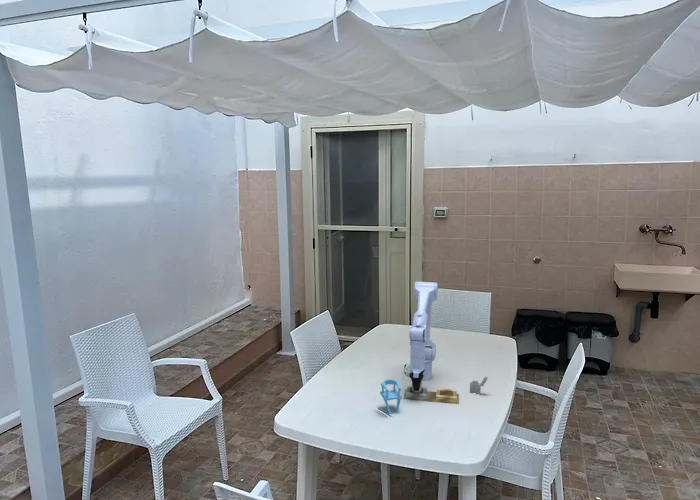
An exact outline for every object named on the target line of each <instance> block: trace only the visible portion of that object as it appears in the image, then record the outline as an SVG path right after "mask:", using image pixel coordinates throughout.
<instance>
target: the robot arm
mask: <svg viewBox="0 0 700 500" xmlns="http://www.w3.org/2000/svg"><path fill="white" fill-rule="evenodd" d="M438 290H439V285H438V282H436V281H434V282H432V281H431V282H429V281H418V280H417V281H415V282H414V285H413V293H414V297H415V299H416V300H417V311H415V312H414V313H413V318H412V319H413V320H412V325H411V326H412V327H410V328H409V333H408V337H409V338H408V339H409V346H410V352H409V353H410V355H409V356H410V362H409V364H408V365H406V367H407V369H410V372H409V378H410V380H411V385H412V384H413V389H414V391H419V389H420V384H421V381H422V382H424V381H426V382H427V381H430V380H432V378H433V362H434V361H435V360H436V356H437V355H436V354H437V347H436V346H437V345H436V342H435V341H434V340H433V339H431V325H432V324H431V323H432V321H431V320H432V305H433V302H436V301H437V300H438V294H439V293H438V292H439V291H438Z"/></svg>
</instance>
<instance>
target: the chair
mask: <svg viewBox="0 0 700 500" xmlns="http://www.w3.org/2000/svg"><path fill="white" fill-rule="evenodd" d="M387 385H392V389H391V390H389V389H388V386H387ZM380 386H381V391H379V394H380V396H381V397H382V399H383V402H384V404H385V406H386V409H387V412H388V413H387V412H386V411H383V410H382V409H381V408H380V407H377V409H378V410H379V411H380V412H382V413H383V414H386V415H387V416H389V417H390V418H392V417H393V416H392V414H393V413H392V411H391V408H390V406H389V403H388V401H392V400H397V401H396V409H395V414H399V410H400V405H401V404H400V403H401V400H403V397H402V395H401V394H400V393H401V389H402V388H401V385H400V382H399V381H396V380H393V379H386V380H383V381H382V382H381V383H380ZM396 386H397V388H398V391H397V390H396Z"/></svg>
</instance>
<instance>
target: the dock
mask: <svg viewBox="0 0 700 500" xmlns="http://www.w3.org/2000/svg"><path fill="white" fill-rule="evenodd" d="M402 400H406V401H407V400H408V401H417V402H429V403H441V404H451V405H452V404H453V405H460V394H459V393H458V392H457V389H448V388H436V391H432V390H431V391H430V390H428V387H425V386H422V393H421V394H420V393H412V385H407V388H406V389H404V394H403V397H402Z"/></svg>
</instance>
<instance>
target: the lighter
mask: <svg viewBox="0 0 700 500" xmlns="http://www.w3.org/2000/svg"><path fill="white" fill-rule="evenodd" d="M488 379H489V377H488V376H486V375H485V376H484V378H483V379H482V381H481V382H480V383H479V381H478V380H472V381H470V382H469V394H473V393H476V394H475V395H478V394H480V395H481V390H482V389H481V387H484V385H485V384H486V383H487V381H488Z"/></svg>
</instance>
